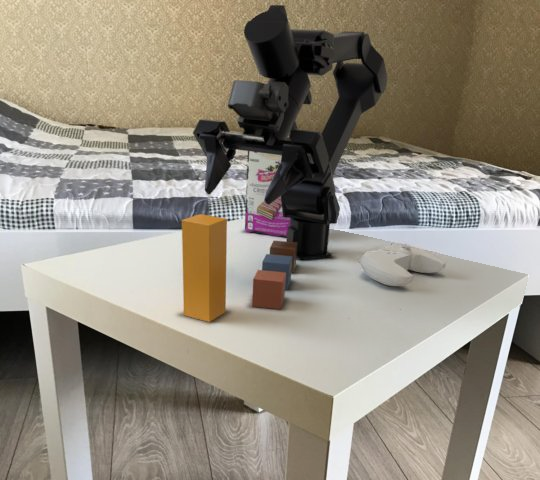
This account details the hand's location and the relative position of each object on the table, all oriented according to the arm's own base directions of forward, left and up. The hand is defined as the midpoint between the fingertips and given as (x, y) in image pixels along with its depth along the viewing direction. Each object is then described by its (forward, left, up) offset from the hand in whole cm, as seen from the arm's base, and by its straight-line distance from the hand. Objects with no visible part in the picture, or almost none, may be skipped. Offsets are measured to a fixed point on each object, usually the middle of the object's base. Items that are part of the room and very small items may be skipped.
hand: (235, 197), depth 76 cm
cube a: (-12, -9, -14) cm, 20 cm away
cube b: (-8, -2, -14) cm, 16 cm away
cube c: (-4, +4, -14) cm, 15 cm away
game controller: (-29, 0, -14) cm, 32 cm away
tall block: (+6, +5, -14) cm, 16 cm away
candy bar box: (-20, -29, -14) cm, 38 cm away
